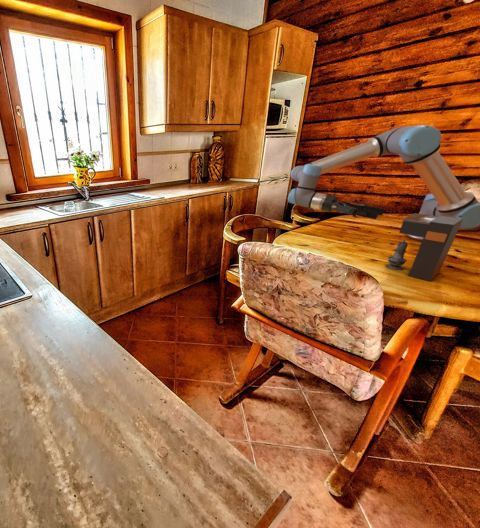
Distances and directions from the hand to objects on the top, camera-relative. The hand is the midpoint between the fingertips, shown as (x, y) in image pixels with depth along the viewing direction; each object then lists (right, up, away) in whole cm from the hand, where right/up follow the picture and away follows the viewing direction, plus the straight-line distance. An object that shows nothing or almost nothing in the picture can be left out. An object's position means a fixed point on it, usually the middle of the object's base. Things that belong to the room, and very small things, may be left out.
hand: (380, 214), depth 116 cm
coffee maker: (+8, -24, -4) cm, 26 cm away
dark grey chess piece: (+6, -22, 0) cm, 23 cm away
